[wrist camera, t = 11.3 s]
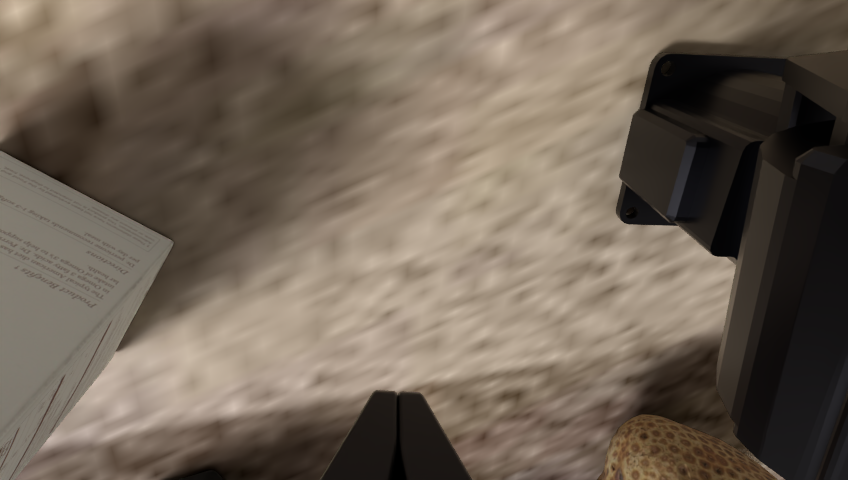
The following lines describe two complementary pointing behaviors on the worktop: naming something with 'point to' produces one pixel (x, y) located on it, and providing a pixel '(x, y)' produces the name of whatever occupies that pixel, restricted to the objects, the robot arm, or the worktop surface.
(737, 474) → the tan rounded lump
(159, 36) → the worktop surface
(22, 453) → the supplement box
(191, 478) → the battery
